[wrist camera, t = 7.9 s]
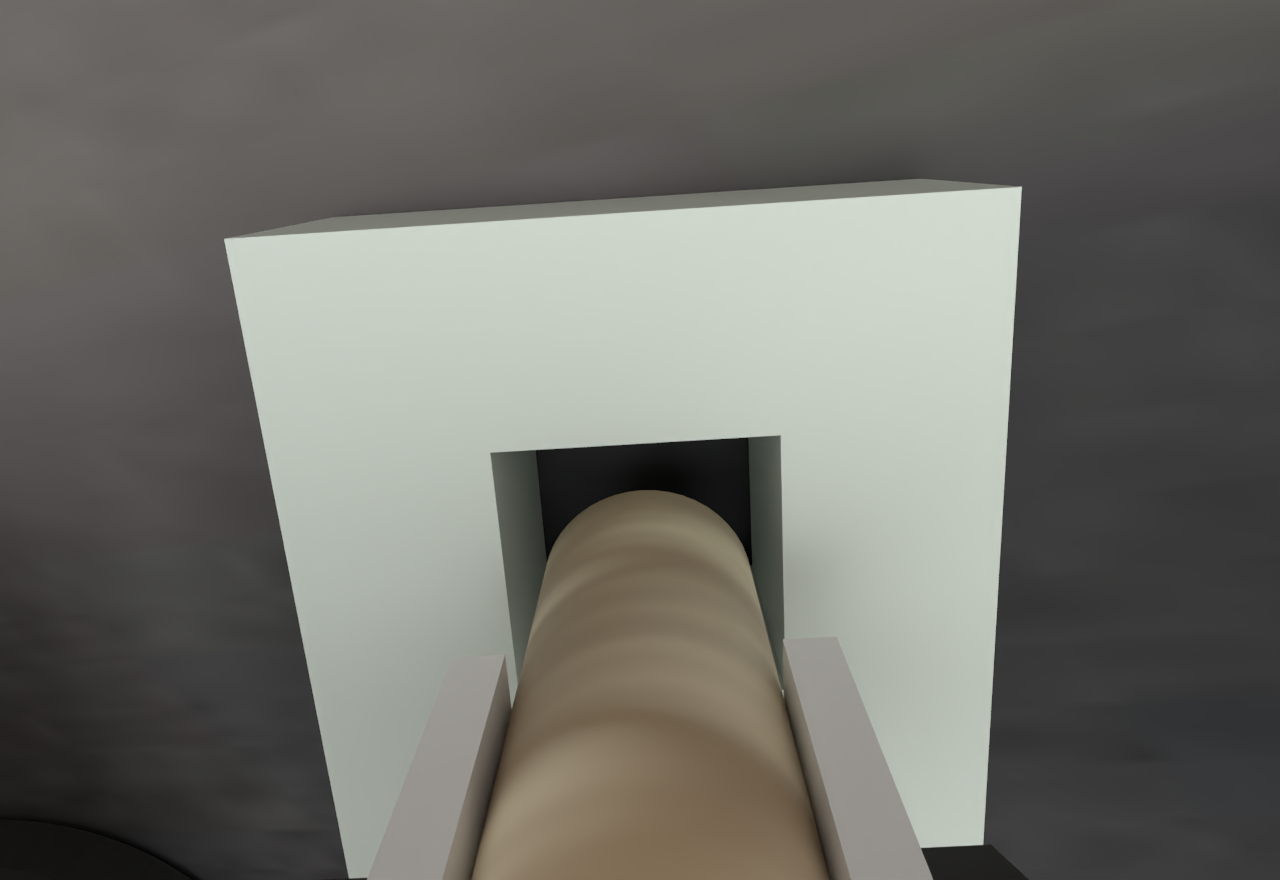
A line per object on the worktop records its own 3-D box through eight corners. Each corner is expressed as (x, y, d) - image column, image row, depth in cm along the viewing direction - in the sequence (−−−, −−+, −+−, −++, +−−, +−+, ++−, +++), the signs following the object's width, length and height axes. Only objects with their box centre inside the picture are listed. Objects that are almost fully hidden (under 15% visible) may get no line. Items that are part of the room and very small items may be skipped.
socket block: (413, 720, 26) (348, 880, 20) (334, 217, 22) (224, 238, 16) (906, 694, 26) (982, 848, 20) (920, 178, 22) (1022, 186, 16)
